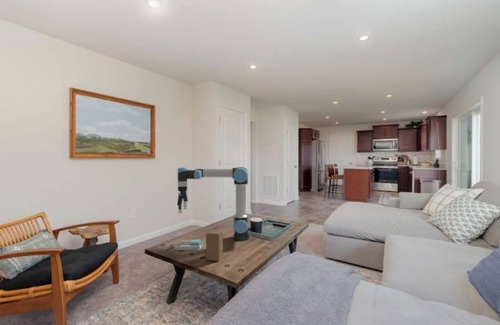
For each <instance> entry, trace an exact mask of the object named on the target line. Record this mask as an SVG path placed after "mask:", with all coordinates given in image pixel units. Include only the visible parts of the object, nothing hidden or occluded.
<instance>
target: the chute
mask: <svg viewBox="0 0 500 325" xmlns="http://www.w3.org/2000/svg"><path fill="white" fill-rule="evenodd" d="M191 242H192V240H180V245H176V246H175V247H176V251H200V250H201V248H202V246H203V244H204V242H203V240H201V246H191Z"/></svg>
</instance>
